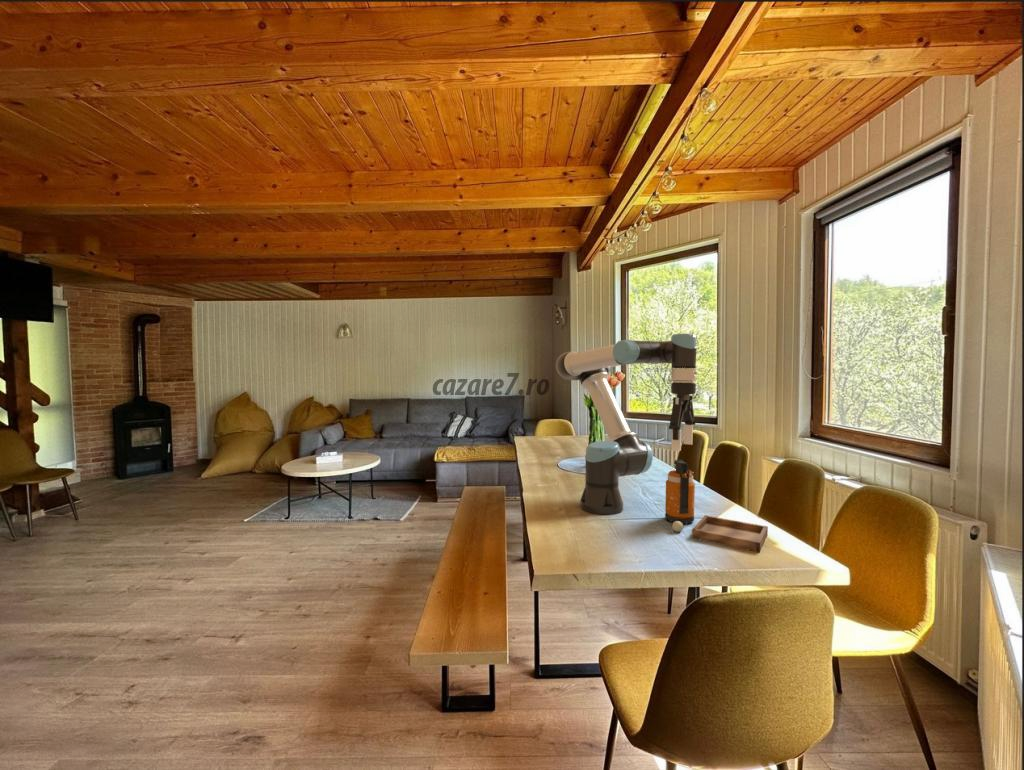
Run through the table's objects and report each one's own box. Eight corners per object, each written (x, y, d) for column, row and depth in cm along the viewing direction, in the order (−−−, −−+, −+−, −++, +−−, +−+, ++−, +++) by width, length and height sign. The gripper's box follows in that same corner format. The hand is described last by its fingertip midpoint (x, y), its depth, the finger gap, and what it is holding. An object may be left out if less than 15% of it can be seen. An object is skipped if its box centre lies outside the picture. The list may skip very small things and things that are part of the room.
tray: (691, 537, 140) (692, 529, 139) (704, 523, 153) (705, 515, 153) (759, 552, 129) (760, 542, 129) (767, 534, 142) (767, 526, 142)
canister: (689, 516, 159) (690, 457, 158) (699, 527, 148) (700, 465, 147) (662, 515, 160) (663, 457, 159) (670, 526, 149) (671, 464, 148)
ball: (670, 531, 145) (671, 521, 144) (673, 528, 147) (674, 518, 147) (681, 534, 143) (681, 523, 143) (684, 531, 145) (684, 520, 145)
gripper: (684, 383, 140) (683, 454, 141) (704, 381, 160) (703, 442, 161) (659, 382, 144) (658, 451, 145) (682, 380, 164) (681, 440, 165)
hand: (682, 447), depth 153 cm, fingers open, 13 cm apart
